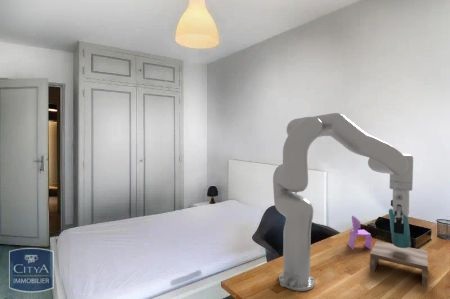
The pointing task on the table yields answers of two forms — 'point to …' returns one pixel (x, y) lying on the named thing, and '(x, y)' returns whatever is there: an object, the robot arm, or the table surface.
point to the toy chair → (359, 234)
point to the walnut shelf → (400, 257)
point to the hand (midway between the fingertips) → (399, 230)
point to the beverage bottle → (397, 238)
